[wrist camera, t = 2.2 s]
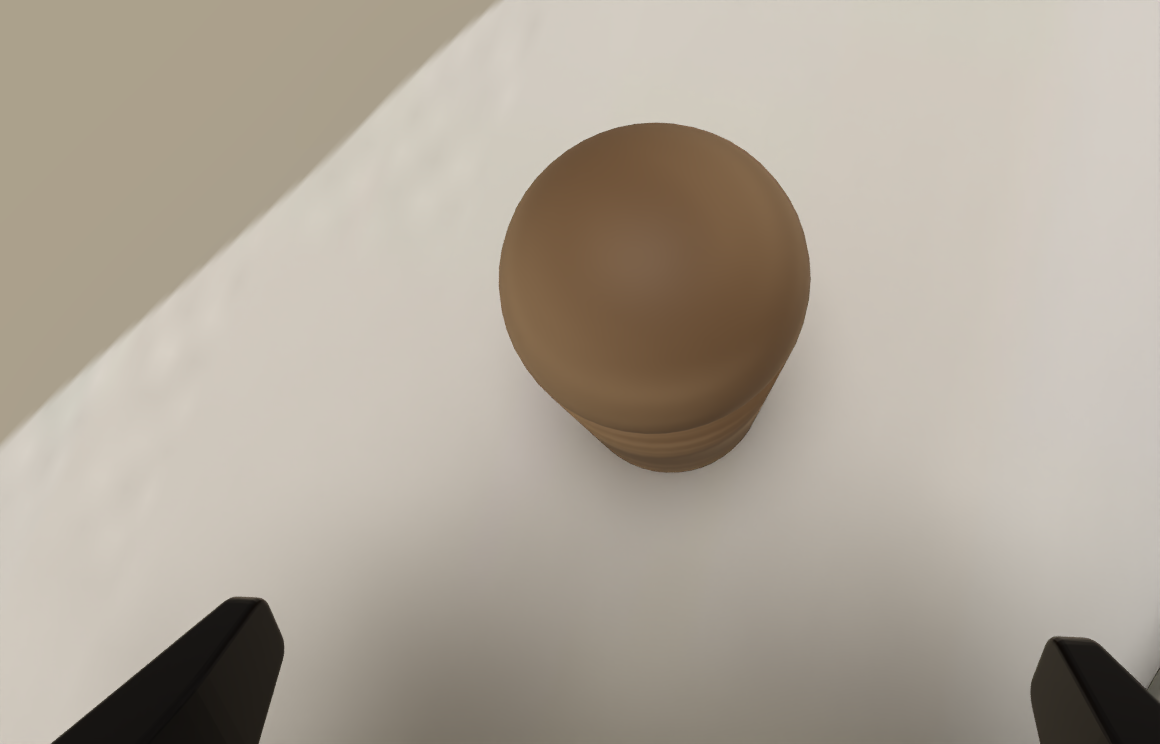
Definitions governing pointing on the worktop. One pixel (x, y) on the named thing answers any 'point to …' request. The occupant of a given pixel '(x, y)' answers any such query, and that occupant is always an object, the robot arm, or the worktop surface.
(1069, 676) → the robot arm
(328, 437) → the worktop surface
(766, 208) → the dome-topped wooden peg
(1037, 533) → the worktop surface
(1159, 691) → the grey divided tray
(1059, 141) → the worktop surface
